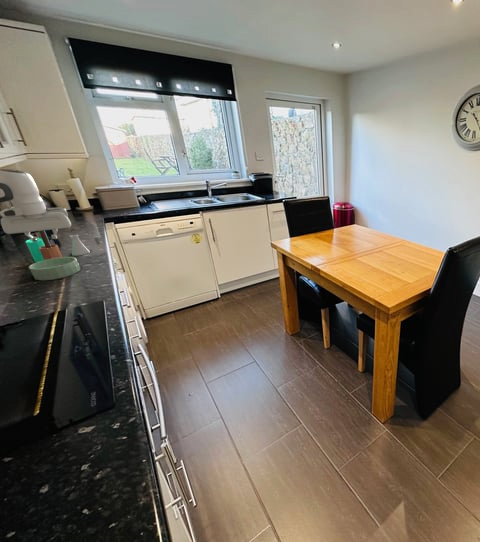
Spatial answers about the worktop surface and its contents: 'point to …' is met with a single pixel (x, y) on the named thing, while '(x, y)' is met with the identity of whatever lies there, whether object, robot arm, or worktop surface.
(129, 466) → the worktop surface
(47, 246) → the stirring stick
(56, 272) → the mixing bowl
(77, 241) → the flask
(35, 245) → the candle
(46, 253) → the utensil pot
